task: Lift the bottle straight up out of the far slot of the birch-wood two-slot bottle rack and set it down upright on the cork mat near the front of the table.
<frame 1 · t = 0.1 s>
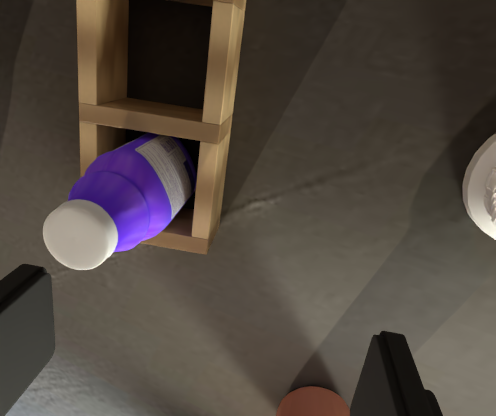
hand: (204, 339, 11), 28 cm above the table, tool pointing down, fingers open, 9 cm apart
bottle: (168, 163, 39), resting in rack
rack: (171, 112, 37), on the table
decorative flower: (314, 412, 49), on the table
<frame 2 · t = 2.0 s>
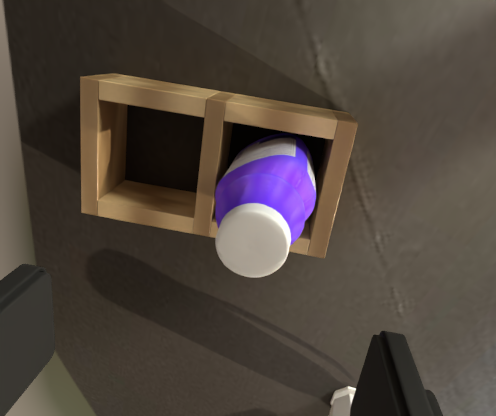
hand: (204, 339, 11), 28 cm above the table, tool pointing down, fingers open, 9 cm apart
cup: (362, 399, 47), on the table
bottle: (273, 163, 38), resting in rack
rack: (221, 154, 38), on the table
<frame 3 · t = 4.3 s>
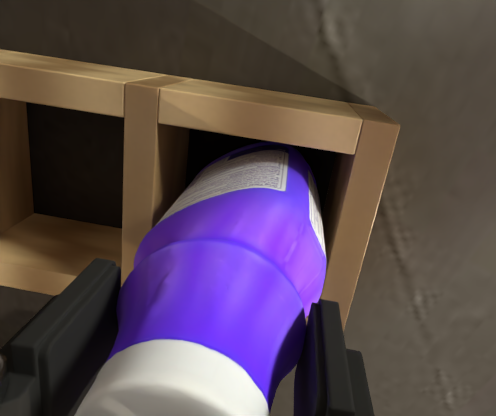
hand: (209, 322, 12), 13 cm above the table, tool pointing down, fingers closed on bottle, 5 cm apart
bottle: (255, 187, 24), resting in rack, touching gripper
rack: (174, 174, 24), on the table
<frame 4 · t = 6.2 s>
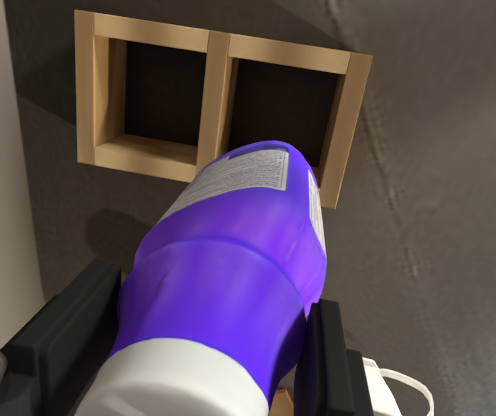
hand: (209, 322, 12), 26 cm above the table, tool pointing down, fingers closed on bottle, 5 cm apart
cup: (373, 370, 45), on the table
bottle: (255, 187, 24), point 13 cm above the table, touching gripper
rack: (225, 104, 36), on the table
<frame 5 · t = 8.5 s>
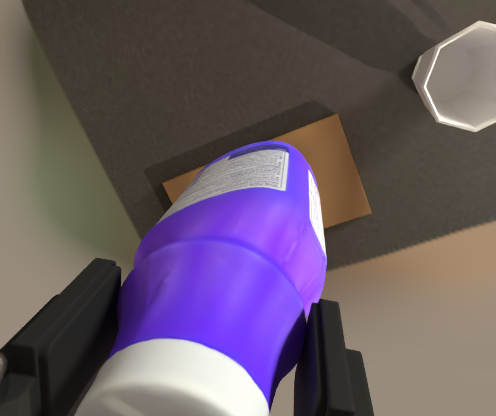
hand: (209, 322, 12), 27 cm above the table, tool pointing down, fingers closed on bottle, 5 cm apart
cup: (456, 70, 34), on the table
mat: (265, 195, 39), on the table
bottle: (255, 187, 24), point 14 cm above the table, touching gripper
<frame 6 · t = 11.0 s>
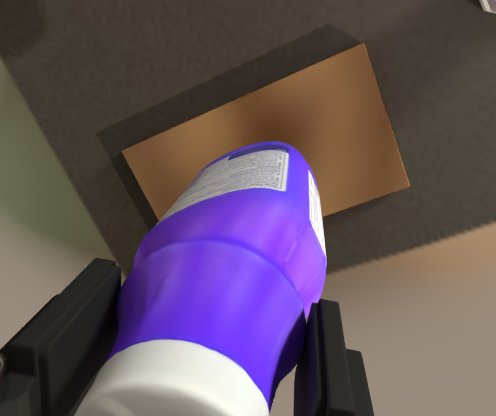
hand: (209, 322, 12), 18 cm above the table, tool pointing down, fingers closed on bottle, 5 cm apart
mat: (262, 166, 29), on the table
bottle: (255, 187, 24), point 5 cm above the table, touching gripper
when the fingers open (14 cm above the table, at t = 12.7 s): bottle stays where it is, resting on mat.
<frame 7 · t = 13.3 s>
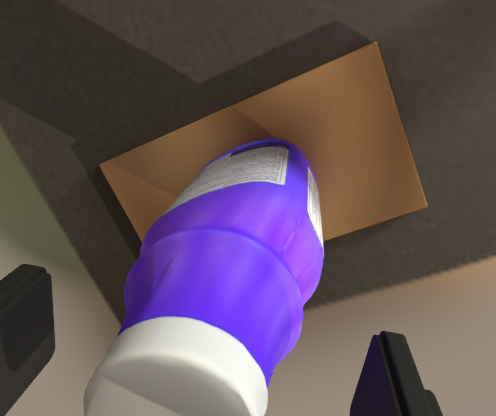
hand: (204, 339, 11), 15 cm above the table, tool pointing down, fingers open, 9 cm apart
mat: (258, 182, 25), on the table
bottle: (256, 183, 25), resting on mat
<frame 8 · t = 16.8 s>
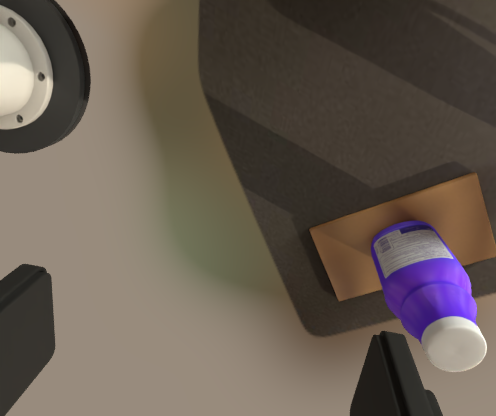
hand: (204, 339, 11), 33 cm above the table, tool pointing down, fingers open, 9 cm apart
mat: (400, 240, 45), on the table
bottle: (401, 241, 45), resting on mat
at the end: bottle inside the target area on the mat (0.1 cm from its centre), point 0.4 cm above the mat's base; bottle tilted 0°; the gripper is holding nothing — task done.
